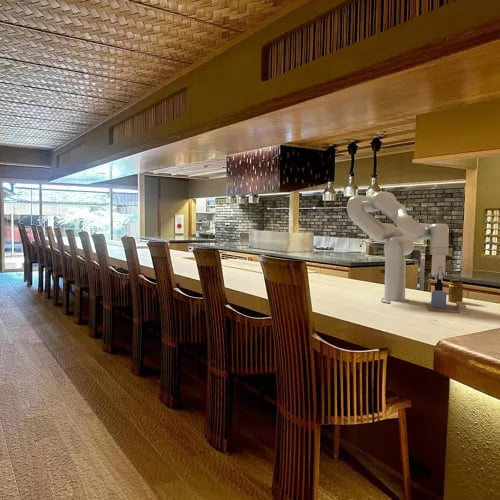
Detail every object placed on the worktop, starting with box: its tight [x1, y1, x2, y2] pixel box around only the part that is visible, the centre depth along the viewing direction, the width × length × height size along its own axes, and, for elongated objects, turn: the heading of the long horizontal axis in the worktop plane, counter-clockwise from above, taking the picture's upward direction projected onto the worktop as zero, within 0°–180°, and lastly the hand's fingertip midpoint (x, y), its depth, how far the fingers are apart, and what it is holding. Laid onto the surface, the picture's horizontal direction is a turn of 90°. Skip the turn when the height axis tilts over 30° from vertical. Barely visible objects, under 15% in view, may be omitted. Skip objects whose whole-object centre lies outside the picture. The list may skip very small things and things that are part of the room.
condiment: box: [447, 278, 464, 304], centre depth 204 cm, size 7×8×12 cm
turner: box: [455, 301, 472, 315], centre depth 185 cm, size 17×4×2 cm, turn 163°
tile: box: [430, 290, 448, 308], centre depth 190 cm, size 2×6×7 cm, turn 73°
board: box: [424, 303, 468, 315], centre depth 187 cm, size 18×16×2 cm
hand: (438, 291), depth 196 cm, fingers closed
